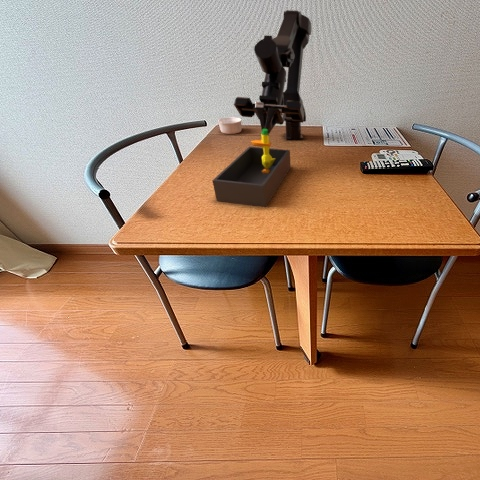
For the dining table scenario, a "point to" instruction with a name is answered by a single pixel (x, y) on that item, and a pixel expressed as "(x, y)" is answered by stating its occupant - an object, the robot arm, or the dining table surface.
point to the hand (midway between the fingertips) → (264, 137)
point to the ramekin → (230, 125)
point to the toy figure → (265, 150)
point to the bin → (251, 177)
